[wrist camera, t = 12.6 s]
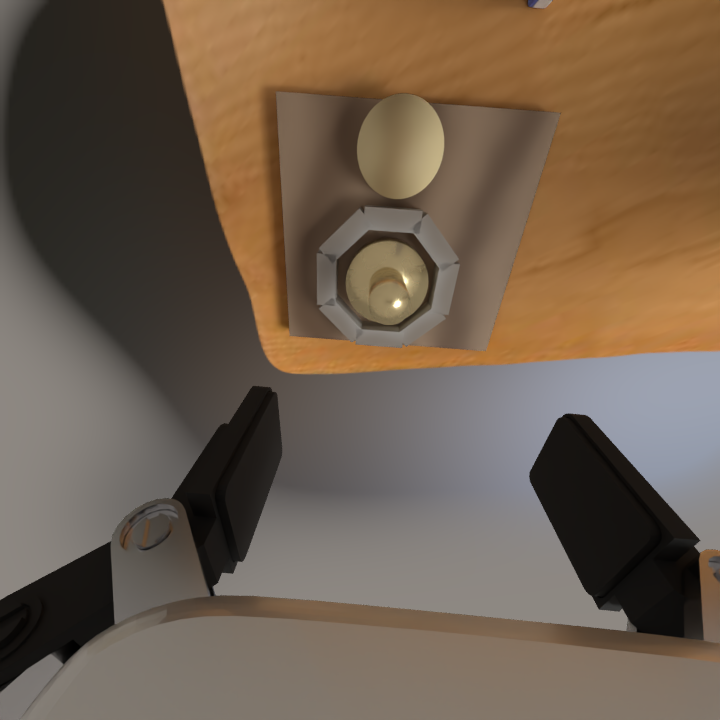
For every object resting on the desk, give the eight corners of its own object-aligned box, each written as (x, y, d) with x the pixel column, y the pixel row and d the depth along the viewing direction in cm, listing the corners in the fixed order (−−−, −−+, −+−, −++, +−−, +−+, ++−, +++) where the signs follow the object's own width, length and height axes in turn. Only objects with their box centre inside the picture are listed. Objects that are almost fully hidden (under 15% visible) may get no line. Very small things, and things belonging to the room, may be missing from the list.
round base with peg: (430, 239, 26) (448, 256, 20) (418, 316, 29) (431, 351, 23) (348, 235, 26) (340, 251, 20) (346, 313, 29) (340, 346, 23)
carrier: (549, 117, 22) (577, 106, 19) (481, 344, 32) (492, 361, 29) (281, 96, 22) (266, 82, 19) (293, 329, 32) (284, 344, 29)
